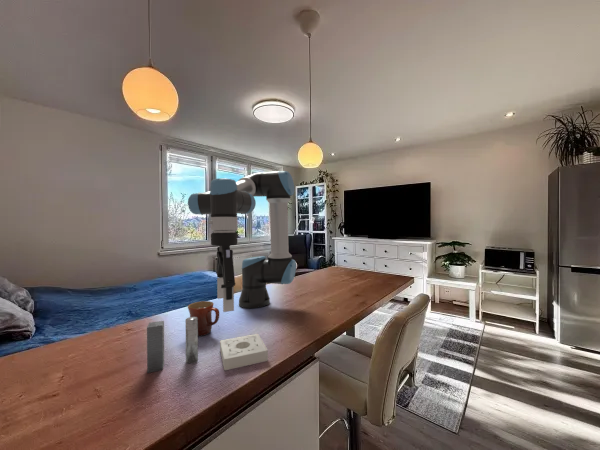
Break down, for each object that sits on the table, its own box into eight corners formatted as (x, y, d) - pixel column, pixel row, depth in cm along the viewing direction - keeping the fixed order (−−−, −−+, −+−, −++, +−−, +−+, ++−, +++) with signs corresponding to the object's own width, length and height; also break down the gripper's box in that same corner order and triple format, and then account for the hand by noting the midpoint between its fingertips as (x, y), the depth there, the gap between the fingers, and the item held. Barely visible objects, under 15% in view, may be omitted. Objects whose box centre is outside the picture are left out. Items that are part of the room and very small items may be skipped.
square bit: (149, 366, 69) (149, 322, 69) (164, 363, 70) (164, 320, 70) (147, 373, 65) (146, 327, 66) (162, 369, 67) (162, 325, 67)
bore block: (220, 350, 77) (220, 340, 77) (258, 342, 82) (258, 333, 82) (224, 370, 66) (224, 359, 66) (267, 360, 71) (267, 350, 71)
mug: (182, 336, 87) (182, 307, 87) (199, 326, 96) (199, 300, 96) (210, 341, 83) (210, 310, 83) (226, 330, 92) (225, 303, 92)
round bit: (186, 359, 72) (185, 317, 72) (197, 356, 73) (197, 316, 73) (185, 364, 69) (185, 321, 69) (198, 362, 70) (197, 319, 71)
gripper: (207, 231, 83) (208, 295, 83) (215, 232, 60) (216, 320, 60) (230, 231, 86) (231, 292, 86) (246, 232, 63) (247, 315, 63)
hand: (225, 304), depth 73 cm, fingers open, 13 cm apart
